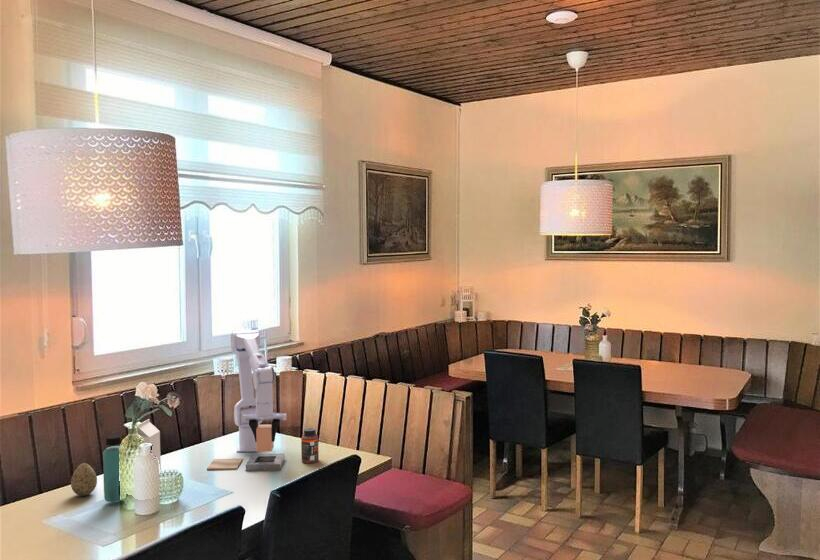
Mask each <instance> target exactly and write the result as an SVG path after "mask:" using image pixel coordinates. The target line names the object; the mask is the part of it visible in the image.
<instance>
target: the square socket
mask: <svg viewBox="0 0 820 560" xmlns="http://www.w3.org/2000/svg"><path fill="white" fill-rule="evenodd" d="M285 455H286V454H285V453H264V454H263V453H259V454H257V453H255V454H251V455H250V456H249V458H248V460H247V462H246V464H245V472H257V471H258V472H259V471H262V472H263V471H281V469H282V467H283V464H284V462H285V460H284V459H285Z"/></svg>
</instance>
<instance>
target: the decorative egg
mask: <svg viewBox="0 0 820 560" xmlns="http://www.w3.org/2000/svg"><path fill="white" fill-rule="evenodd" d="M97 478H98V477H97V473H96V471H95V469H93V467H91V465H90V464H88V463H85V462H82V463H80V464H79V465H78V466H77V467H76V469H75V470H74V471H73V474H72V475H71V480H70V487H71V490H72V491H73V493H74V494H75V495H77V496H80V497H85V496H88V495H90V494H92V493H93V492H94V491H95V489H96V487H97V484H98V479H97Z"/></svg>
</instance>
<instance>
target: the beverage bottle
mask: <svg viewBox="0 0 820 560" xmlns="http://www.w3.org/2000/svg"><path fill="white" fill-rule="evenodd" d="M105 441H106V442H105V445H106V446H109V447H106V448H105V449H104V450H103V451H102V463H103V470H102V471H103V475H102V476H103V479H102V480H103V483H102V484H103V497H104V501H106V503H107V502H108V503H116V502H120V481H119V448H120V445H121V444H122V438H121V435H116V434H114V435H109V436H106V440H105Z"/></svg>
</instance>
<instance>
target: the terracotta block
mask: <svg viewBox="0 0 820 560" xmlns="http://www.w3.org/2000/svg"><path fill="white" fill-rule="evenodd" d="M256 440H257V451H256V453H259V452H260V453H263V452H264V453H265V452H272V451H273V450H274V447H275V445H274V443H275V441H274V442H272V425H271V424H260V425H258V427H257V428H256Z"/></svg>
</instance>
